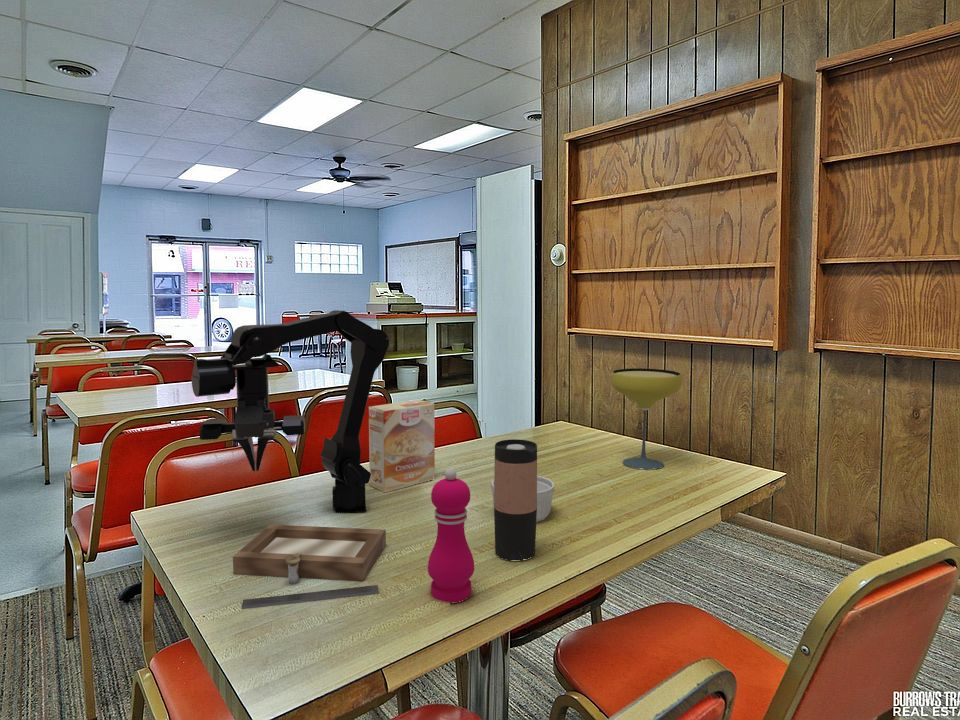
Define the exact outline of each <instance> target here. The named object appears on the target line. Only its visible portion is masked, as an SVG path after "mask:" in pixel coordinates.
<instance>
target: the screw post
mask: <svg viewBox="0 0 960 720" xmlns="http://www.w3.org/2000/svg"><path fill="white" fill-rule="evenodd" d="M287 578H288V584H289V585H297V584H299V582H300V578H299V567H298V563H297V564H293V565H289V564H288V577H287Z"/></svg>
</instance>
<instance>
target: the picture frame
mask: <svg viewBox="0 0 960 720" xmlns="http://www.w3.org/2000/svg"><path fill="white" fill-rule="evenodd" d="M386 535H387V532H386V529H379V528H378V529H377V528H376V529H375V528H357V527H334V526H333V527H332V526H331V527H330V526H312V525H290V524H288V525H287V524H273V523H272V524H271V523H270V524H269V525H268V526H267V527H266V528H265V529H264V530H262V531H261V532H260V533H258V535H256V536H255V537H254V538H252V540H250V542H248V543H247V544H246V545H244V547H242V548H241V549H240V550H239V551H237V552H236V553H235V554H233V556H232V570H233V571H232V572H233V575H243V576H244V575H245V576H264V577H265V576H266V577H282V578H288V564H289V565H293V564H297V563H298V567H299V579H301V578H302V579H317V580H319V579H320V580H335V581H336V580H339V581H354V582H356V581H357V582H364V580H365V579H366V578H367V576H368V575H369V573H370V572H371V570H372V568H373V567H374V565H375V564H376V562H377V560H378V559H379V557H380V555H381V554H382V552H383V551H384V549H385V548H386V546H387V537H386Z"/></svg>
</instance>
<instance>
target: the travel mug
mask: <svg viewBox="0 0 960 720" xmlns="http://www.w3.org/2000/svg"><path fill="white" fill-rule="evenodd" d="M493 471H494V473H493V474H494V475H493V476H494V477H493V479H494V504H493V512H494V514H493V515H494V519H493V520H494V521H493V523H494V549H495V550H494V553H495V555H496V554H497V555H498V556H499V557H500V559H501V558H503V559H507V560H523V559H528V558H530V557H532V556H533V557H535V554H536V541H537V537H536V536H537V535H536V534H537V522H536V519H537V476H538V445H537V443H536V442H534V441H531V440H527V439H519V438H518V439H514V438H513V439H504V440H503V439H501V440H499V441H497V442H495V444H494V470H493ZM497 555H496V556H497ZM498 556H497V557H498ZM499 557H498V558H499ZM533 557H532V558H533ZM503 559H502V560H503ZM507 560H506V561H507Z"/></svg>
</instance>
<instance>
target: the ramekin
mask: <svg viewBox="0 0 960 720" xmlns="http://www.w3.org/2000/svg"><path fill="white" fill-rule="evenodd" d="M490 490H491V492H492V502H493V503H492V504H493V505H494V478H493V479H492V480H491V483H490ZM554 492H555V483H554V482H553V481H552V480H551V479H549V478H547V477H544V476H540V475H537V519H536V523H538V522H537V521H540V522H542V521H544V520H545V519H546V518H547V517H548V516H549V515H550V512H551V509H552V501H553V495H554ZM543 519H544V520H543ZM541 520H542V521H541Z"/></svg>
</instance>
